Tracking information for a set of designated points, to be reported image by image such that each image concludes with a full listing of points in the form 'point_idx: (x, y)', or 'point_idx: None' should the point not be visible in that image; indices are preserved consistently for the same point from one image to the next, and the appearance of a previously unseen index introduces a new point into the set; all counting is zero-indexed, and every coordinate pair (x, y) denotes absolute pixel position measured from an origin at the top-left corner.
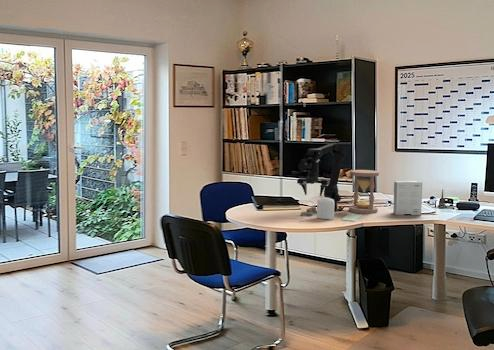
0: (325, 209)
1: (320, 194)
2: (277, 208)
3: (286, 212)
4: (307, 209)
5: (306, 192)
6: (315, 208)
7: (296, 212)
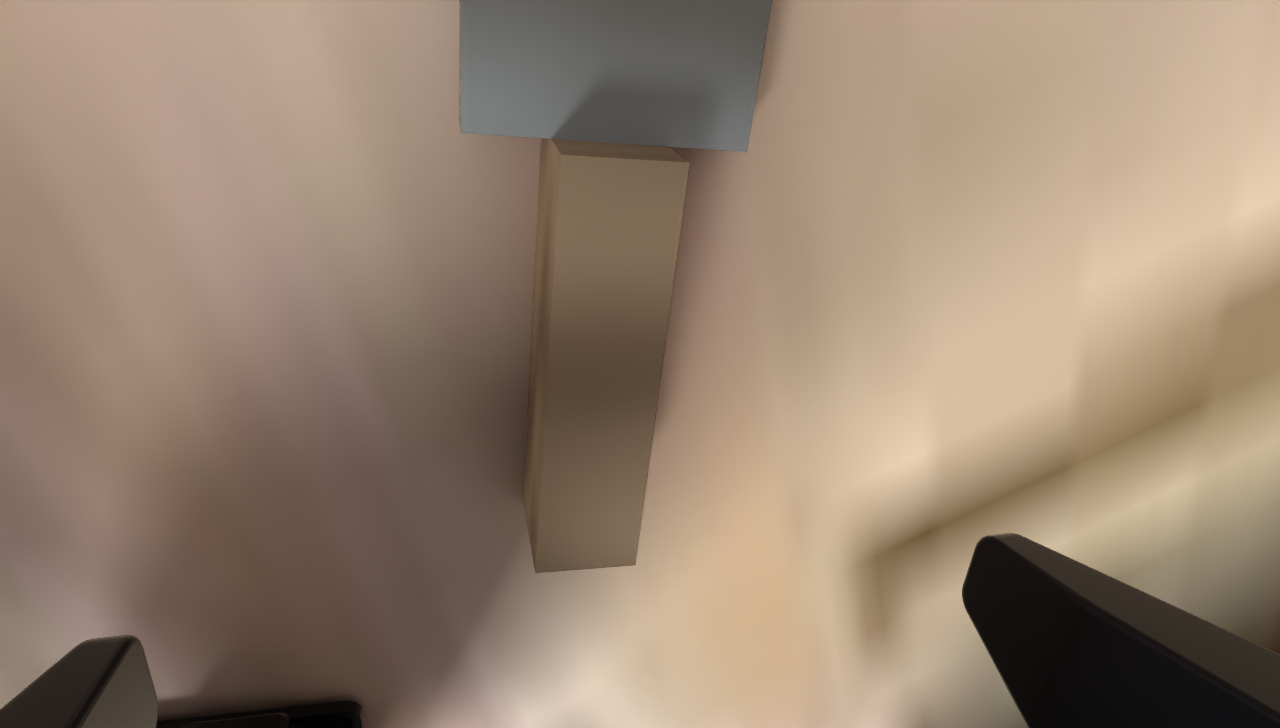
0: None
1: (44, 713)
2: (1235, 453)
3: (1116, 154)
4: (666, 172)
5: (1042, 701)
6: (532, 532)
7: (909, 249)
